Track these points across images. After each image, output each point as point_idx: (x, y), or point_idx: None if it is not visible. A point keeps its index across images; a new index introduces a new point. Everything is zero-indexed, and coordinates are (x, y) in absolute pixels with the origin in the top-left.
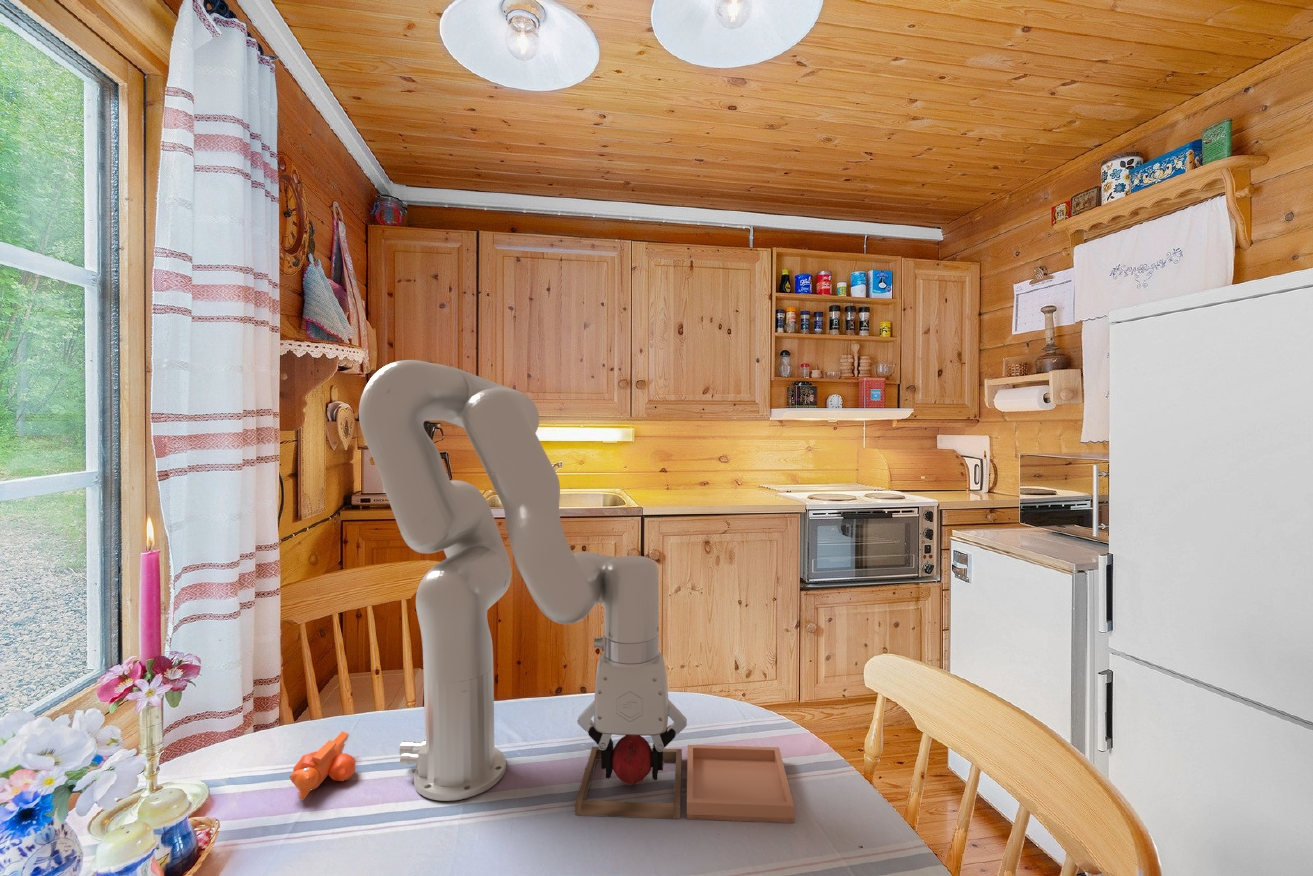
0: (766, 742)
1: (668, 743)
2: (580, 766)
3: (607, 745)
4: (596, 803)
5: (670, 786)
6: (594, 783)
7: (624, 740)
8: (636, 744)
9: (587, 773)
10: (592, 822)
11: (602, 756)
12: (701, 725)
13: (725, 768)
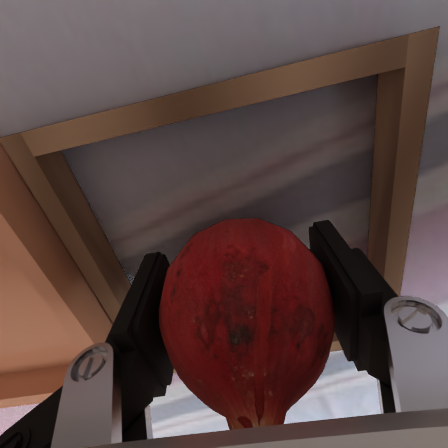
0: (16, 418)
1: (54, 394)
2: (407, 280)
3: (387, 324)
4: (335, 59)
5: (134, 263)
6: (355, 224)
7: (291, 373)
8: (213, 360)
9: (397, 233)
10: (325, 9)
11: (377, 280)
12: (160, 432)
13: (26, 343)
